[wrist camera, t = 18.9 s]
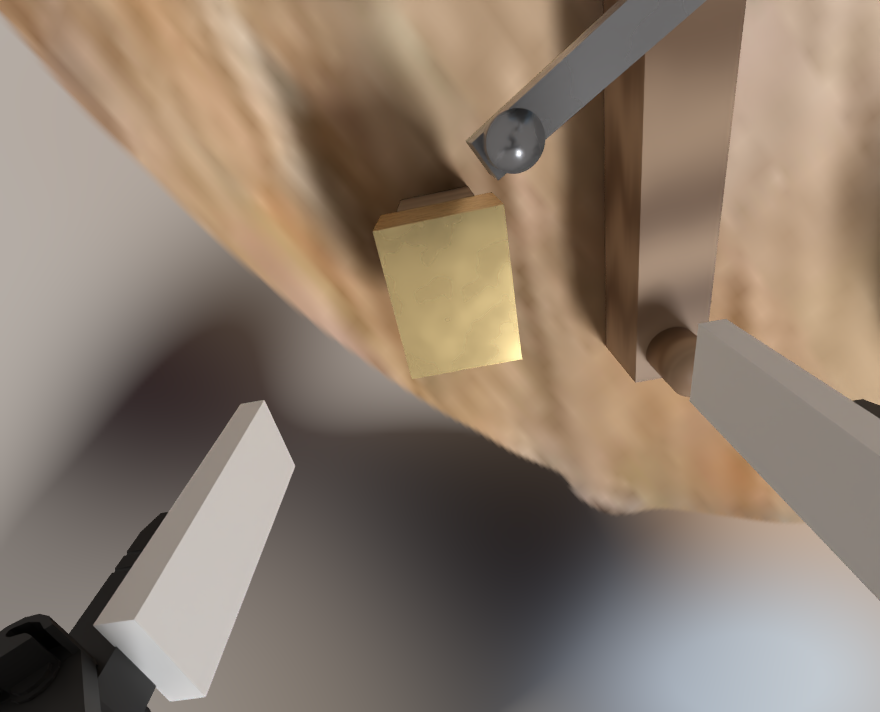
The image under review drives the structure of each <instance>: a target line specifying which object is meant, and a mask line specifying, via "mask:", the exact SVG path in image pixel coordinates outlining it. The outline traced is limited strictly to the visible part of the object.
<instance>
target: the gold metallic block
mask: <svg viewBox="0 0 880 712" xmlns="http://www.w3.org/2000/svg"><path fill="white" fill-rule="evenodd" d="M373 235H374V239H375V243H376V246H377V250H378V254H379V258H380V261H381V265H382V269H383V273H384V277H385V280H386V284H387V288H388V292H389V295H390V299H391V303H392V307H393V310H394V314H395V318H396V322H397V326H398V329H399V333H400V337H401V341H402V344H403V348H404V352H405V356H406V359H407V363H408V367H409V371H410V375H411V378H412V379H416V378H421V377H427V376H432V375H438V374H443V373H449V372H454V371H460V370H465V369H471V368H476V367H482V366H487V365H493V364H498V363H504V362H509V361H515V360H520V359H522V356H521V347H520V339H519V330H518V321H517V313H516V304H515V296H514V287H513V279H512V270H511V262H510V253H509V244H508V236H507V227H506V219H505V210H504V204H503V203H502V202H501V201H500V200H499V199H498V198H497V197H496V196H495V195H494V194H493V193H492V192H491V193H486V194H481V195H476V196H471V197H467V198H462V199H457V200H452V201H448V202H443V203H438V204H433V205H428V206H424V207H419V208H414V209H409V210H404V211H400V212H395V213H390V214H385V215H381V216H380V218H379V220H378V222H377V224H376V226H375V228H374V230H373Z"/></svg>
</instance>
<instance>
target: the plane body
mask: <svg viewBox="0 0 880 712" xmlns="http://www.w3.org/2000/svg"><path fill="white" fill-rule="evenodd" d="M617 1H618V0H603V14H604V13H605V12H606V11H607V10H608V9H609V8H611V7H612V6H613V5H614V4H615V3H616V2H617ZM745 6H746V0H706V1H705V2H704V3H703V4H702V5H701V6H699V7H698V8H697V9H696V10H695V11H694V12H693V13H691V14H690V15H689V16H688V17H687V18H686V19H684V20H683V21H682V22H681V23H680V24H679V25H677V26H676V27H675V28H674V29H673V30H672V31H671V32H669V33H668V34H667V35H666V36H665V37H664V38H662V39H661V40H660V41H659V42H658V43H657V44H655V45H654V46H653V47H652V48H651V49H650V50H649V51H647V52H646V53H645V54H644V55H643V56H642V57H640V58H639V59H638V60H637V61H636V62H635V63H633V64H632V65H631V66H630V67H629V68H628V69H627V70H625V71H624V72H623V73H622V74H621V75H620V76H618V77H617V78H616V79H615V80H614V81H613V82H611V83H610V84H609V85H608V86H607V87H606V88H605V89H604V143H605V257H606V347H607V348H608V350H609V351H610V352H611V353H612V354H613V356H614V357H615V358H616V359H617V361H618V362H619V363H620V364H621V365H622V367H623V368H624V369H625V370H626V372H627V373H628V374H629V375H630V376H631V378H632V379H633V380H634V381H635V383H636V382H642V381H647V380H653V379H659V378H663V379H664V380H665V381H666V382H667V383H668V384H669V385H670V386H671V388H672V389H673V390H674V391H675V392H676V393H678V394H679V395H682V396H685V397H690V394H691V385H692V376H693V367H694V359H695V350H696V341H697V333H698V324H700V323H706V322H709V314H710V305H711V297H712V288H713V280H714V271H715V263H716V254H717V245H718V237H719V228H720V220H721V211H722V203H723V194H724V186H725V177H726V169H727V160H728V151H729V143H730V134H731V126H732V117H733V109H734V100H735V92H736V83H737V74H738V66H739V57H740V49H741V40H742V32H743V23H744V15H745Z"/></svg>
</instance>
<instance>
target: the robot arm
mask: <svg viewBox="0 0 880 712" xmlns="http://www.w3.org/2000/svg"><path fill="white" fill-rule="evenodd" d="M690 402H691V403H692V404H693V405H694V406H695V407H696V408H697V409H698V410H699V412H700V413H701V414H702V415H703V416H704V417H705V418H706V419H707V420H708V421H709V422H710V423H711V424H712V425H713V426H714V427H715V428H716V429H717V430H718V431H719V433H720V434H721V435H722V436H723V437H724V438H725V439H726V440H727V441H728V442H729V443H730V444H731V445H732V446H733V447H734V448H735V449H736V450H737V451H738V452H739V454H740V455H741V456H742V457H743V458H744V459H745V460H746V461H747V462H748V463H749V464H750V465H751V466H752V467H753V468H754V469H755V470H756V471H757V472H758V473H759V475H760V476H761V477H762V478H763V479H764V480H765V481H766V482H767V483H768V484H769V485H770V486H771V487H772V488H773V489H774V490H775V491H776V492H777V493H778V494H779V496H780V497H781V498H782V499H783V500H784V501H785V502H786V503H787V504H788V505H789V506H790V507H791V508H792V509H793V510H794V511H795V512H796V513H797V514H798V515H799V517H800V518H801V519H802V520H803V521H804V522H805V523H806V524H807V525H808V526H809V527H810V528H811V529H812V530H813V531H814V532H815V533H816V534H817V535H818V536H819V537H820V539H822V540H823V542H824V543H825V544H826V545H827V546H828V547H829V548H830V549H831V550H832V551H833V552H834V553H835V554H836V555H837V556H838V557H839V559H840V560H841V561H842V562H843V563H844V564H845V565H846V566H847V567H848V568H849V569H850V570H851V571H852V572H853V573H854V574H855V575H856V576H857V577H858V578H859V580H860V581H861V582H862V583H863V584H864V585H865V586H866V587H867V588H868V589H869V590H870V591H871V592H872V593H873V594H874V595H875V596H876V597H877V598H878V599H879V600H880V406H879V405H877V404H874V403H872V402H869V401H866V400H864V399H861V400H855V401H852V400H850V399H849V398H847V397H845V396H844V395H842V394H841V393H839V392H838V391H836V390H835V389H833V388H832V387H830V386H828V385H827V384H825V383H824V382H822V381H821V380H819V379H818V378H816V377H815V376H813V375H811V374H810V373H808V372H807V371H805V370H804V369H802V368H801V367H799V366H798V365H796V364H795V363H793V362H791V361H790V360H788V359H787V358H785V357H784V356H782V355H781V354H779V353H778V352H776V351H774V350H773V349H771V348H770V347H768V346H767V345H765V344H764V343H762V342H761V341H759V340H757V339H756V338H754V337H753V336H751V335H750V334H748V333H747V332H745V331H744V330H742V329H740V328H739V327H737V326H736V325H734V324H733V323H731V322H730V321H728V320H727V319H723V320H717V321H711V322H706V323H700V324H698V333H697V341H696V350H695V359H694V367H693V376H692V385H691V394H690ZM294 467H295V465H294V463H293V461H292V458H291V456H290V454H289V452H288V450H287V448H286V446H285V444H284V441H283V439H282V437H281V435H280V433H279V430H278V428H277V427H276V424H275V422H274V420H273V418H272V416H271V413H270V411H269V409H268V407H267V405H266V403H265V401H264V400H263V401H256V402H250V403H245V404H241V405H240V406H239V408H238V409H237V411H236V412H235V414H234V415H233V416H232V418H231V419H230V421H229V422H228V424H227V425H226V427H225V429H224V430H223V432H222V433H221V435H220V436H219V437H218V439H217V440H216V442H215V444H214V445H213V446H212V448H211V449H210V451H209V452H208V454H207V455H206V457H205V458H204V460H203V461H202V463H201V464H200V466H199V467H198V469H197V471H196V472H195V473H194V475H193V476H192V478H191V479H190V481H189V482H188V484H187V485H186V487H185V488H184V490H183V491H182V493H181V494H180V496H179V497H178V499H177V500H176V502H175V503H174V505H173V506H172V508H171V509H170V511H169V512H165V513H161V514H160V515H159V516H157V517H156V518H155V519H154V520H153V521H152V522H151V523H150V524H149V525H148V526H147V527H146V528H144V530H142V531H141V532H140V534H139V535H138V537H137V538H136V539H135V541H134V542H133V544H132V545H131V547H130V548H129V549H128V551H127V555H126V556H124V557H123V558H122V559H121V561H120V562H119V564H118V565H117V566H116V568H115V572H114V573H112V574H111V575H110V576H109V578H108V579H107V581H106V582H105V583H104V585H103V586H102V588H101V589H100V591H99V592H98V593H97V595H96V596H95V598H94V599H93V601H92V602H91V604H90V605H89V606H88V608H87V609H86V610H85V612H84V613H83V615H82V616H81V618H80V619H79V620H78V622H77V624H76V625H75V626H74V628H73V629H72V630H71V632H70V633H69V634H68V633H67V632H66V631H65V630H64V629H63V628H61V627H60V626H59V625H58V624H57V623H56V622H55V621H54V620H53V619H52V618H50V617H49V616H46V615H42V614H37V615H33V616H30V617H25V618H23V619H21V620H19V621H17V622H15V623H13V624H11V625H9V626H7V627H6V628H4V629H3V630H2V631H0V712H151V711H150V709H149V708H148V707H147V704H148V702H149V700H150V698H151V696H152V694H153V692H154V689H155V687H156V688H157V689H158V690H159V691H160V692H161V693H162V694H163V695H164V696H165V697H166V698H167V699H168V700H169V701H170V702H171V701H178V700H187V699H194V698H202V697H206V695H207V692H208V690H209V687H210V685H211V682H212V680H213V677H214V674H215V672H216V669H217V666H218V664H219V661H220V659H221V656H222V653H223V651H224V649H225V646H226V643H227V641H228V638H229V636H230V633H231V630H232V628H233V625H234V623H235V620H236V618H237V615H238V612H239V610H240V607H241V605H242V602H243V599H244V597H245V594H246V592H247V589H248V586H249V584H250V581H251V579H252V576H253V573H254V571H255V568H256V566H257V563H258V561H259V558H260V556H261V553H262V550H263V547H264V545H265V543H266V540H267V537H268V535H269V532H270V530H271V527H272V525H273V522H274V519H275V517H276V514H277V512H278V509H279V506H280V504H281V501H282V498H283V496H284V493H285V491H286V488H287V486H288V483H289V480H290V478H291V475H292V473H293V470H294Z"/></svg>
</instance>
